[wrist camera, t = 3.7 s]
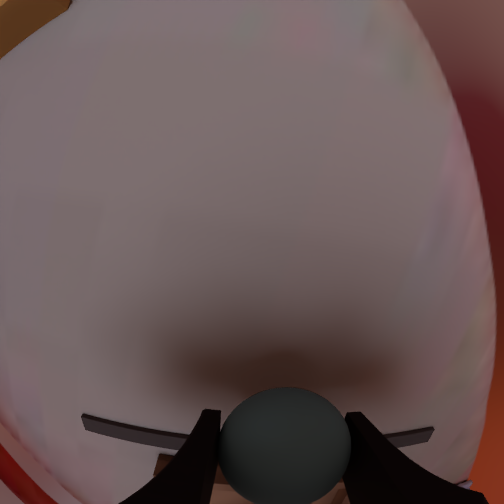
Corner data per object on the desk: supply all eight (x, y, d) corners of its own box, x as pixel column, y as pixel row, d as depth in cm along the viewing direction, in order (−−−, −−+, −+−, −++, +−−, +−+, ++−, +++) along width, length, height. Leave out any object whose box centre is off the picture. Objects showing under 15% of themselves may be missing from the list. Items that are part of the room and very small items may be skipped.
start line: (432, 426, 16) (434, 429, 15) (426, 438, 16) (427, 441, 16) (82, 413, 15) (81, 416, 15) (87, 426, 15) (85, 429, 15)
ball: (347, 363, 12) (387, 450, 7) (323, 443, 13) (342, 523, 8) (224, 358, 12) (210, 455, 7) (220, 441, 13) (212, 526, 8)
